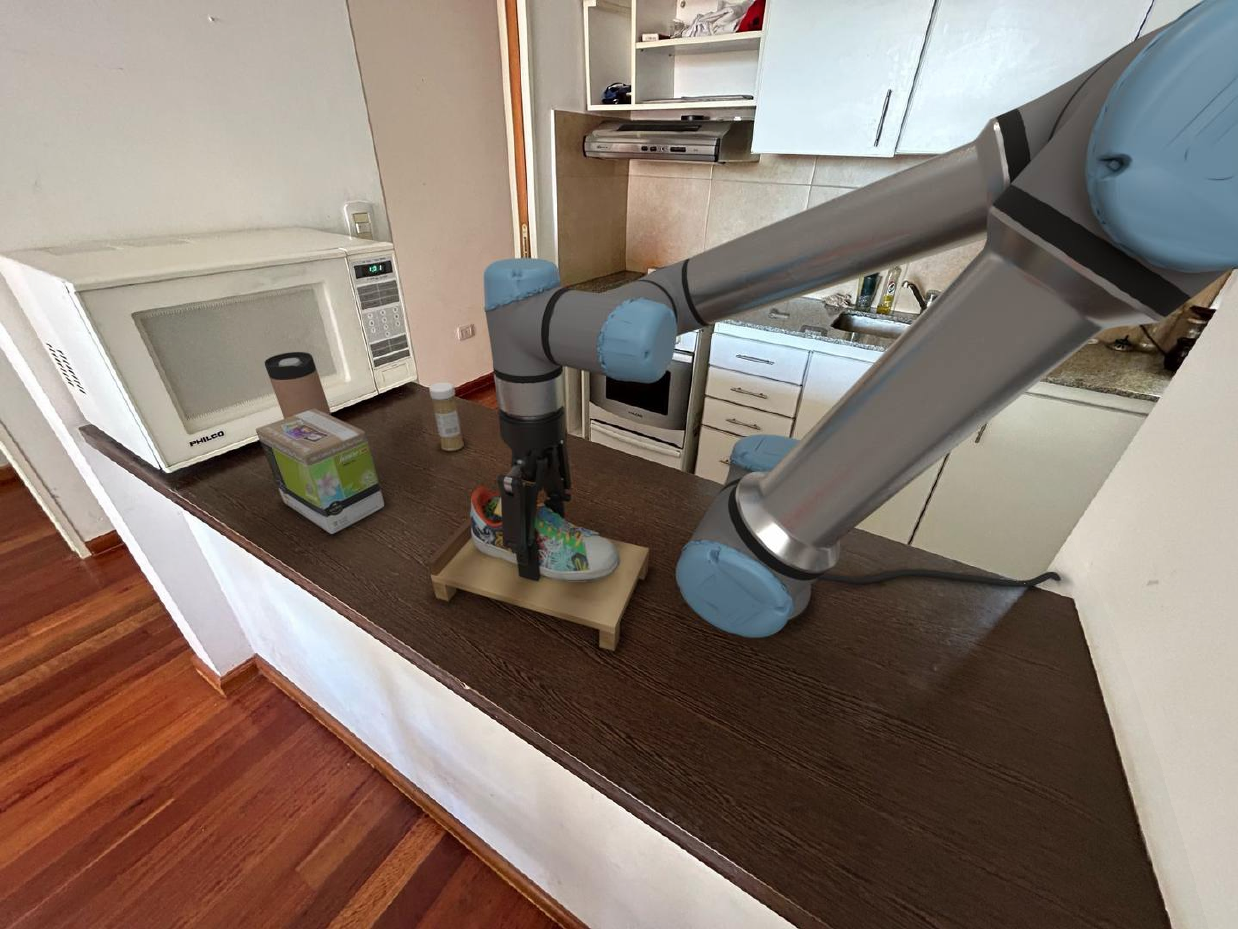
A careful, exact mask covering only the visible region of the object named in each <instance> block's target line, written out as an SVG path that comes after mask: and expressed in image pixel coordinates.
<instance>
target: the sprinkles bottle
mask: <svg viewBox="0 0 1238 929" xmlns="http://www.w3.org/2000/svg"><path fill="white" fill-rule="evenodd" d="M428 391H429V397H430V399H431V401H432V406H433V411H434V417H435V422H436V427H437V432H438V436H439V441H440V448H441V450H443V451H446V452H455V451H457V450H460V449H462V448H463V447H464V441H463V435H462V428H461V423H460V422H461V420H460V417H459V413H458V406H457V401H456V390H455V385H454V384H453V383H451V382H447V381H442V382H441V381H440V382H436V383H434V384H432V385H430V386H429V390H428Z"/></svg>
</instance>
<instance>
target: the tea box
mask: <svg viewBox="0 0 1238 929" xmlns="http://www.w3.org/2000/svg"><path fill="white" fill-rule="evenodd" d="M255 432H256V434H257V437H258V440H259V443H260V445H261V447H262V451H263V453H264V455H265V458H266V460H267V463H268V465H269V467H270V470H271V474H272V475H273V478H274V480H275V483H276V485H277V488H278V491H279V493H280V496H281V498H282V501H283V502H284V504H285V505H286V506H289V507H290V508H291V509H293V510H294V511H296V512H298V513H299V514H300V515H302V516H303V517H304V518H306V519H308V520H309V521H311V522H312V523H314V524H315V525H317V526H319V527H320V528H321V529H323V530H324V531H326V533H329V534H330V535H333V534H336V533H338V532H340V531H341V530H344V529H345V528H347V527H350V526H351V525H353V524H355V523H357V522H359V521H361V520H362V519H364V518H366V517H368V516H370V515H372V514H374V513H375V512H377V511H379V510H381V509H383V508H384V507H385V501H384V497H383V493H382V489H381V486H380V483H379V478H378V475H377V472H376V468H375V464H374V463H375V462H374V460H373V456H372V453H371V449H370V445H369V442H368V439H367V438H368V437H367V435H366V434H367V433H366V432H365V431H364V430H363V429H360V428H358V427H356V426H354V425H352V424H350V423H348V422H345V421H343V420H341V419H339V418H337V417H335V416H330V415H328V414H326V413H324V412H321V411H319V410H317V409H311V410H308V411H306V412H303V413H300V414H297V415H294V416H291V417H288V418H285V419H284V418H283V419H280V420H276V421H274V422H271V423H268V424H265V425H263V426H259V427H257V428H255Z"/></svg>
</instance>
